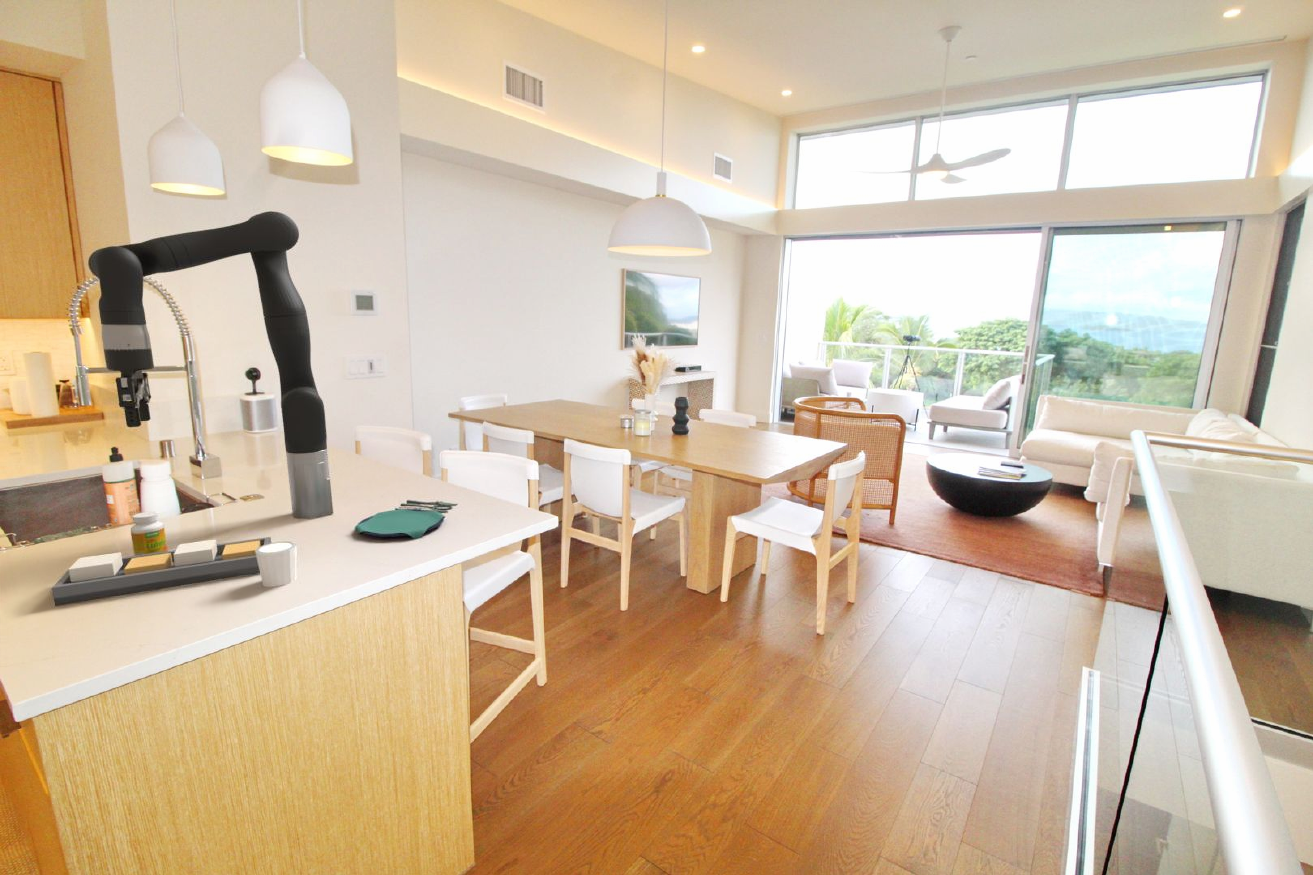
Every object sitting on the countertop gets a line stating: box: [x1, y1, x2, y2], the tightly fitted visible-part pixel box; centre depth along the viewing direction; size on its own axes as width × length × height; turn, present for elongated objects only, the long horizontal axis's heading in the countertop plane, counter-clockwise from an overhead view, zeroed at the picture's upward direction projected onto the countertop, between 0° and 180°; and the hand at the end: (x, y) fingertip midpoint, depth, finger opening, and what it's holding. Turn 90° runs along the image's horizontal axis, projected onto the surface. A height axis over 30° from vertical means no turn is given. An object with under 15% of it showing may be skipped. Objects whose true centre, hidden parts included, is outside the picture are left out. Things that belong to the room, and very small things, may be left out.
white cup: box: [255, 541, 298, 588], centre depth 116 cm, size 7×7×7 cm
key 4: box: [68, 551, 123, 582], centre depth 112 cm, size 6×6×2 cm
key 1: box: [222, 540, 261, 560], centre depth 123 cm, size 6×6×2 cm
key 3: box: [124, 553, 173, 575], centre depth 116 cm, size 6×6×2 cm
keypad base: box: [51, 536, 272, 607], centre depth 118 cm, size 32×12×4 cm, turn 120°
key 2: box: [174, 539, 217, 567], centre depth 120 cm, size 6×6×2 cm
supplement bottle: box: [130, 511, 168, 556], centre depth 126 cm, size 5×5×10 cm
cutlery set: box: [354, 499, 459, 539], centre depth 153 cm, size 20×30×2 cm, turn 176°
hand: (139, 423), depth 127 cm, fingers open, 8 cm apart
